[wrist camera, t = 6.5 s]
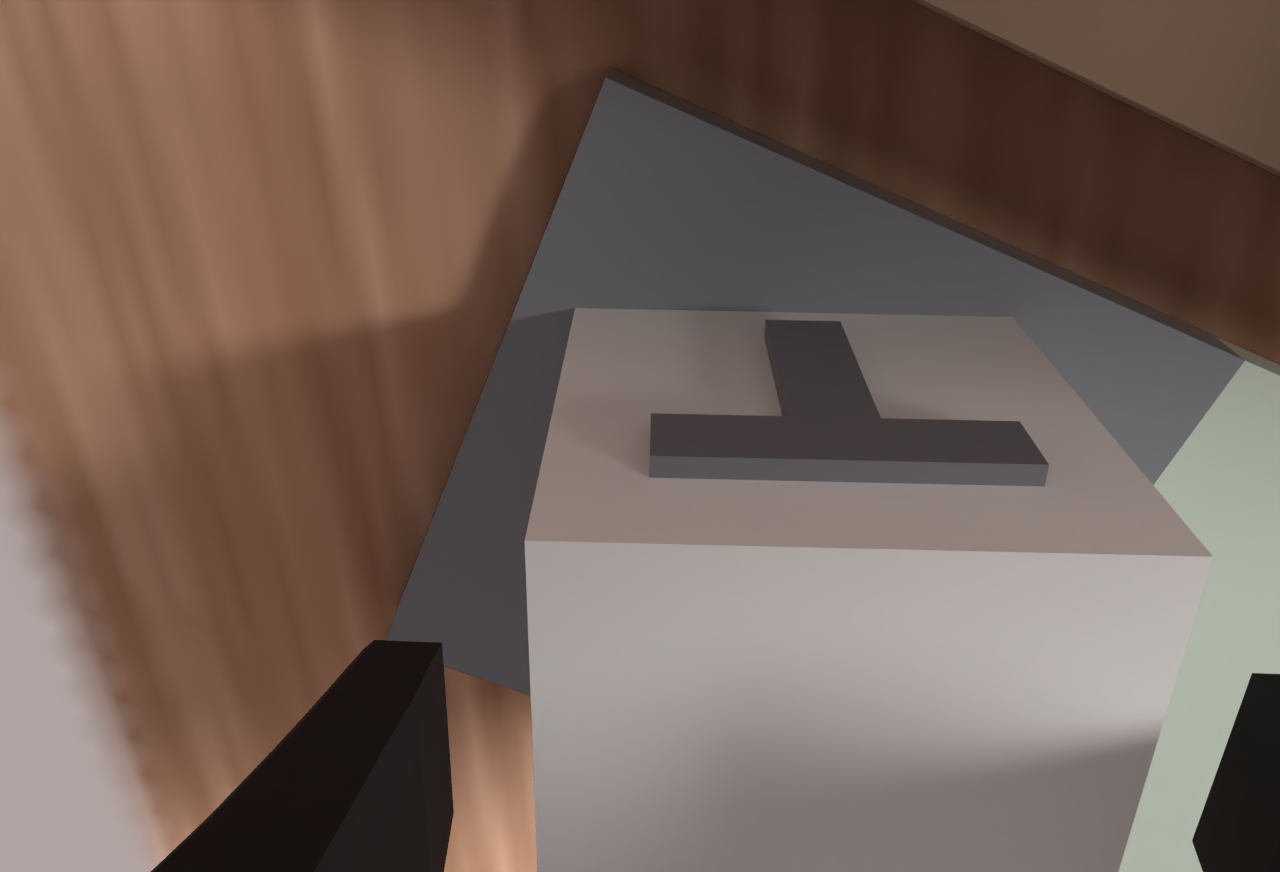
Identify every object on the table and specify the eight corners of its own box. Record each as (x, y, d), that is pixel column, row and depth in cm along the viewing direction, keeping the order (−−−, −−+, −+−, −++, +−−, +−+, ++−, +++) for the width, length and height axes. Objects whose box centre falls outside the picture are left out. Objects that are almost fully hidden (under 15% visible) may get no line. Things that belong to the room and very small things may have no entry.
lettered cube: (1015, 300, 12) (1220, 532, 8) (949, 666, 14) (1077, 1008, 10) (575, 291, 12) (523, 517, 8) (579, 658, 15) (541, 994, 10)
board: (1711, 556, 14) (1766, 591, 14) (1322, 930, 18) (1349, 974, 17) (609, 66, 12) (605, 77, 11) (396, 610, 15) (383, 646, 15)
